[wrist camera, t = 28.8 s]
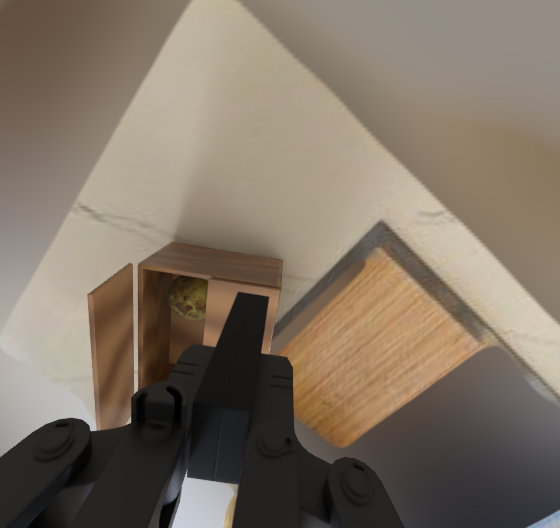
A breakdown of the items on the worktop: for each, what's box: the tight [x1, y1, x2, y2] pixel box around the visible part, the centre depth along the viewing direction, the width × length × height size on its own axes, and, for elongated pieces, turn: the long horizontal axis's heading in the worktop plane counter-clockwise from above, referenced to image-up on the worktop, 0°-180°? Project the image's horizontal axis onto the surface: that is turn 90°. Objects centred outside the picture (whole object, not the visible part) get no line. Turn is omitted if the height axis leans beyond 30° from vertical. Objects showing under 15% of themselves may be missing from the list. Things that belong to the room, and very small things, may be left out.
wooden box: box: [87, 242, 283, 431], centre depth 35 cm, size 21×17×17 cm
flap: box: [203, 278, 280, 354], centre depth 34 cm, size 21×8×1 cm, turn 171°
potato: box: [167, 275, 209, 320], centre depth 37 cm, size 8×13×8 cm, turn 71°
